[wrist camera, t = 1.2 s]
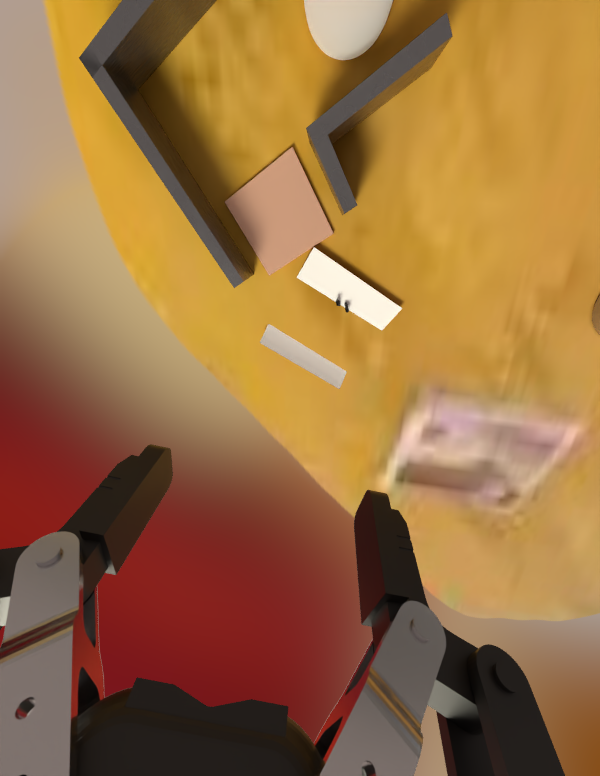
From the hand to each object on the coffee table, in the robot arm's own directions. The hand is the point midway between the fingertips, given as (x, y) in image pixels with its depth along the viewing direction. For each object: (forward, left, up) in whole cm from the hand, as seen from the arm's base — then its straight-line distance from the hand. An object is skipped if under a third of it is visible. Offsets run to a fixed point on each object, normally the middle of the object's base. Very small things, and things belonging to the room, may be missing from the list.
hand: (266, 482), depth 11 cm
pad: (-2, -10, -25) cm, 27 cm away
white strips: (-1, +2, -26) cm, 26 cm away
